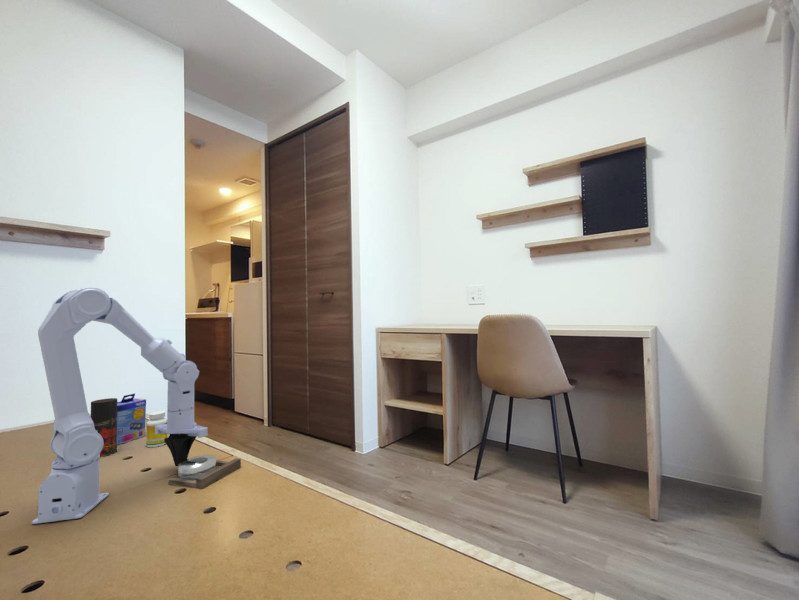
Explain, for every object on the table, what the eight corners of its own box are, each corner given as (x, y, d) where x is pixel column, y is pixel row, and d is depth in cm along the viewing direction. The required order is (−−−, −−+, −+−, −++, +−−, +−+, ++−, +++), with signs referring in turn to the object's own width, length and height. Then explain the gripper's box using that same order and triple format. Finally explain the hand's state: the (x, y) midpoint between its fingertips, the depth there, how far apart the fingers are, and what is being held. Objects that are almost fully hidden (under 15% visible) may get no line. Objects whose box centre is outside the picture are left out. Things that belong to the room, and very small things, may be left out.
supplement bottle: (145, 444, 110) (145, 412, 110) (166, 440, 113) (166, 409, 113) (146, 449, 105) (147, 416, 106) (168, 444, 109) (168, 412, 109)
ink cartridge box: (115, 446, 109) (115, 397, 109) (102, 445, 110) (103, 397, 111) (146, 436, 118) (147, 391, 119) (134, 434, 120) (134, 390, 121)
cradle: (240, 467, 90) (240, 458, 90) (201, 488, 79) (201, 479, 79) (210, 463, 93) (210, 455, 93) (168, 484, 82) (168, 475, 82)
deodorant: (85, 458, 99) (86, 403, 100) (96, 451, 105) (97, 399, 105) (110, 456, 100) (111, 401, 101) (120, 449, 106) (121, 397, 107)
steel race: (210, 479, 84) (210, 465, 84) (172, 483, 82) (172, 469, 82) (220, 465, 92) (220, 453, 92) (185, 469, 90) (185, 456, 90)
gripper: (217, 406, 91) (217, 461, 90) (172, 403, 95) (172, 456, 94) (193, 413, 84) (193, 472, 83) (147, 410, 88) (146, 467, 88)
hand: (180, 464), depth 88 cm, fingers closed
